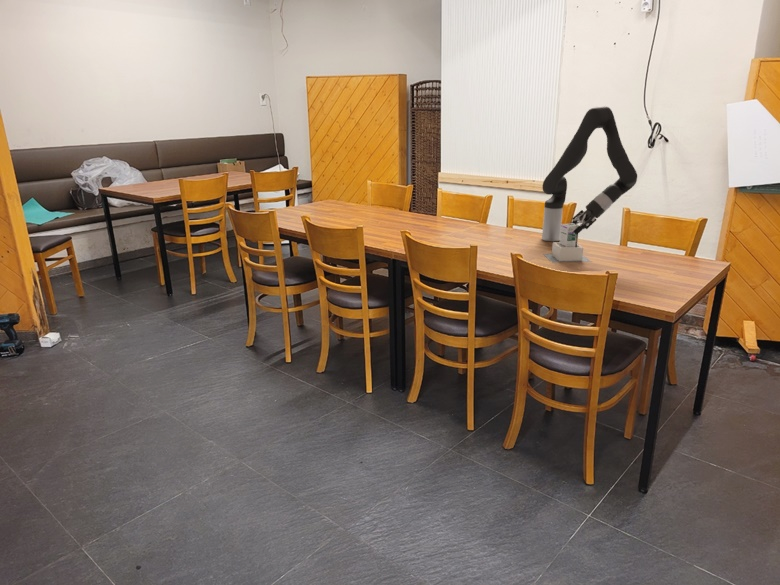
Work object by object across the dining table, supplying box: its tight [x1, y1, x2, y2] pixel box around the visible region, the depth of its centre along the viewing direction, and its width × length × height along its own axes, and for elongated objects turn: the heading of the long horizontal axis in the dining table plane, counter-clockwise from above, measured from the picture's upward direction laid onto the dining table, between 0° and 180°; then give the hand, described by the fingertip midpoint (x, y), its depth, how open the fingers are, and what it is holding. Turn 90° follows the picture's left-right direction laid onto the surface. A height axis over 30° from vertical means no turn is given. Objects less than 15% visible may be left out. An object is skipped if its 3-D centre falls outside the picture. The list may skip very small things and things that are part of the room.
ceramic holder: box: [551, 241, 584, 261], centre depth 251 cm, size 10×10×6 cm
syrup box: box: [559, 222, 580, 248], centre depth 249 cm, size 6×6×14 cm
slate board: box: [542, 253, 593, 264], centre depth 252 cm, size 14×18×2 cm
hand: (571, 231), depth 247 cm, fingers open, 8 cm apart
